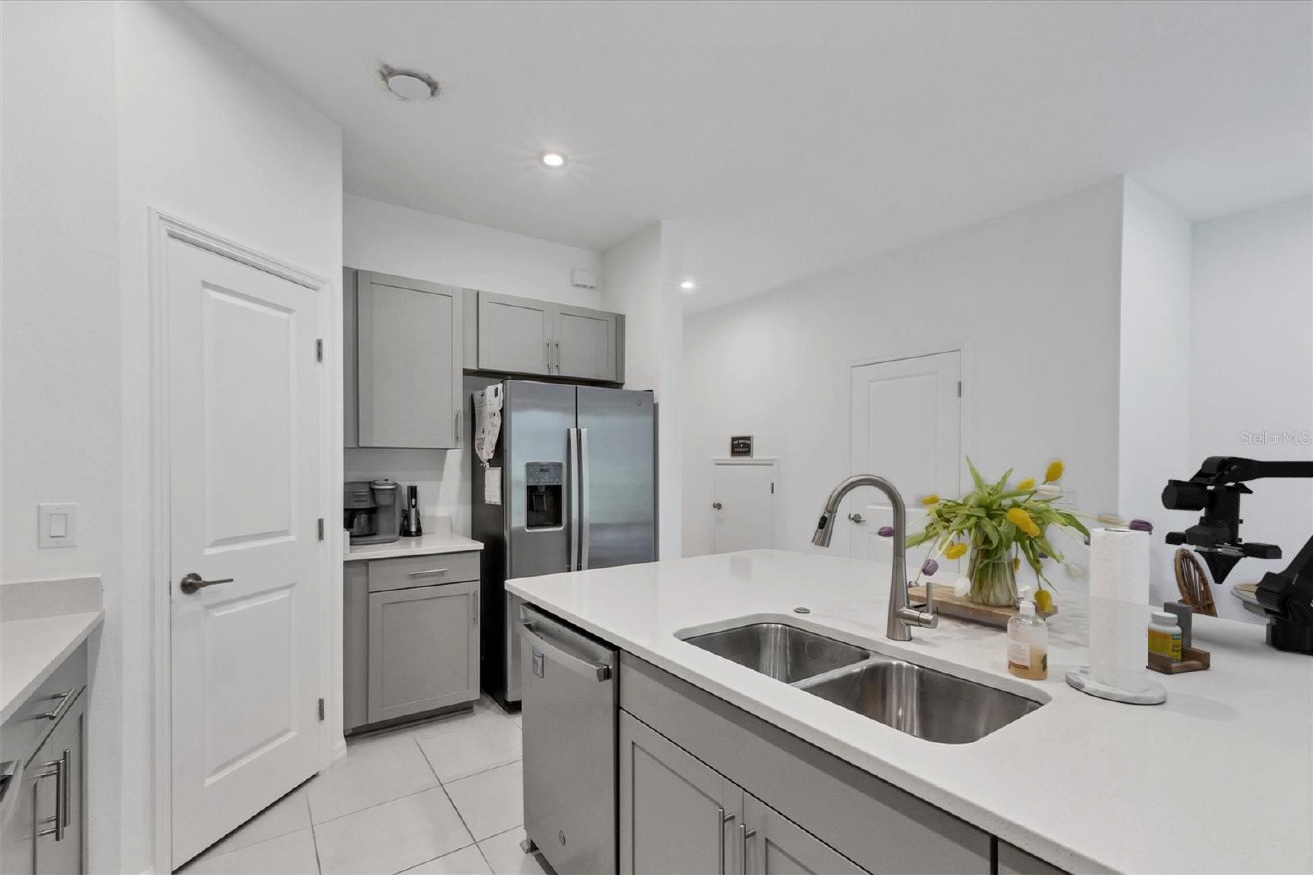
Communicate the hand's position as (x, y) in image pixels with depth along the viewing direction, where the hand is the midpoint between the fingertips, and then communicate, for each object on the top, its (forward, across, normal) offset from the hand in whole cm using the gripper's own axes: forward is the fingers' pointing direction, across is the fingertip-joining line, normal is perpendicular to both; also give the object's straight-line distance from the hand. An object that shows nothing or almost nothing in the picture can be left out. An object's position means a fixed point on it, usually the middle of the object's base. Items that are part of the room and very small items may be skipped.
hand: (1218, 584), depth 134 cm
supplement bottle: (+14, +5, -26) cm, 30 cm away
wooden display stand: (+13, +5, -27) cm, 30 cm away
